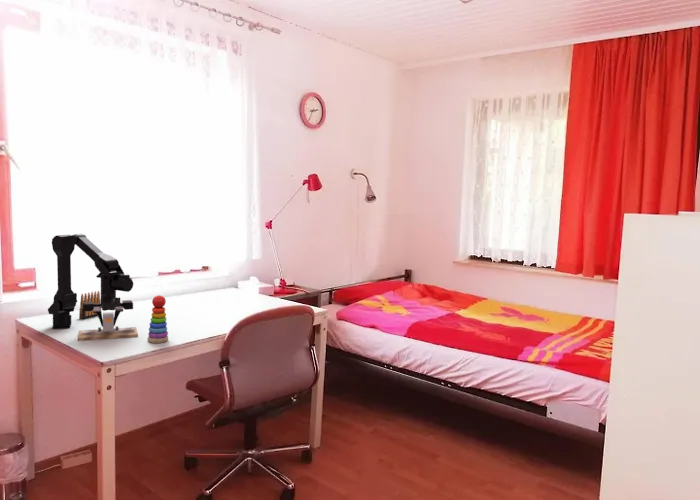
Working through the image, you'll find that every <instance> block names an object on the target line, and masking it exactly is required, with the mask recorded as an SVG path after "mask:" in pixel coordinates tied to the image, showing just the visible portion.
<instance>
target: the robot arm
mask: <svg viewBox="0 0 700 500" xmlns="http://www.w3.org/2000/svg"><path fill="white" fill-rule="evenodd" d="M51 247H52V251H53V252H54V254H55V256H56V260H57V261H56V264H57V265H56V266H57V290H56V293H54V296H53V302H52V303H51V305H50V306H49V307H48V308H47V312H48V314H49V315H52V327H51V328H52V330H53V329H54V330H55V329H57V330H58V329H68V328H69V329H70V328H71V325H72V314H71V312H72V313H73V312H74V311H75V307H76V306H77V303H78V299H77V297H78V293H77V292H74V291H73V290H72V269H71V267H72V265H71V264H72V262H71V255H72V254H73V252H74V251H75V247H78V248H79V249H80V250H81V251H82V252H83V253H84V254H85V255H86V256H88V258H90V259H91V260H92V262H94V267H95V268H96V269H97V271H98V272H99V273H98V274H97V275H96V278H97V279H98V278H100V304H94V302H84V303H83V311H92V310H93V313H96V314H97V317H98V320H99V322H100V323H99V324H100V326H101V328H103V312H102V311H104V312H105V311H114V327H116V324H117V323H116V322H117V321H118V318H119V315H120V313H123V312H124V310H133V309H134V302H133V300H130V299H129V300H128V299H127V300H122V302H121V297H117V291H119V292H126V293H129V292H130V291H132V289H133V287H134V282H133V279H132V277H131V276H130V274H125V272H124V270H123V269H122V267H121V265H120V264H119V263H120V262H119V261H118V259H117V258H115V257H114V256H112V255H110V254H107V253H105V252H104V251H102V250H101V249H100V248H98V246H97V245H95V243H93V242H92V241H91V240H90V239H89V238H88V237H87V235H85V234H83V233H78V234H77V233H75V234H72V235H71V234H62V235H60V234H59V235H54V236H53V238H51Z"/></svg>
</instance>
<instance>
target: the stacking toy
mask: <svg viewBox="0 0 700 500" xmlns="http://www.w3.org/2000/svg"><path fill="white" fill-rule="evenodd" d="M151 302H152V306H153V307H152V309H151V311H152V313H151V318H150V322H149V327H148V334H147V335H148V336H147V339H146V340H147V341H148V342H149V343H151V344H162V343H165V342H167V341H168V340H169V331H168V327H167V326H168V325H167V316H166V315H167V313H166V308H165V305H166V302H167V301H166V298H165V297H164V296H162V295H156V296H154V297H153V298H152V300H151Z"/></svg>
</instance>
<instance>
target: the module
mask: <svg viewBox="0 0 700 500" xmlns="http://www.w3.org/2000/svg"><path fill="white" fill-rule="evenodd" d="M114 314H115V312H114V311H111V312H109V311H108V312H102V319H103V327H102V329H103V332H104V331H114V328H115V326H114Z"/></svg>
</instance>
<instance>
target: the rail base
mask: <svg viewBox="0 0 700 500" xmlns="http://www.w3.org/2000/svg"><path fill="white" fill-rule="evenodd" d="M137 337H139V333H138V330H137V327H136V326H135V327H119V325H118V326H116V325H115V327H114V331H104V332H103V328H102V326H99V327H98V328H97V329H85V330H84V329H83V330H82V329H80V330H78V335H77V342H80V341H82V342H83V341H95V340H97V341H98V340H107V339H108V340H111V339H124V338H125V339H126V338H137Z"/></svg>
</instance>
